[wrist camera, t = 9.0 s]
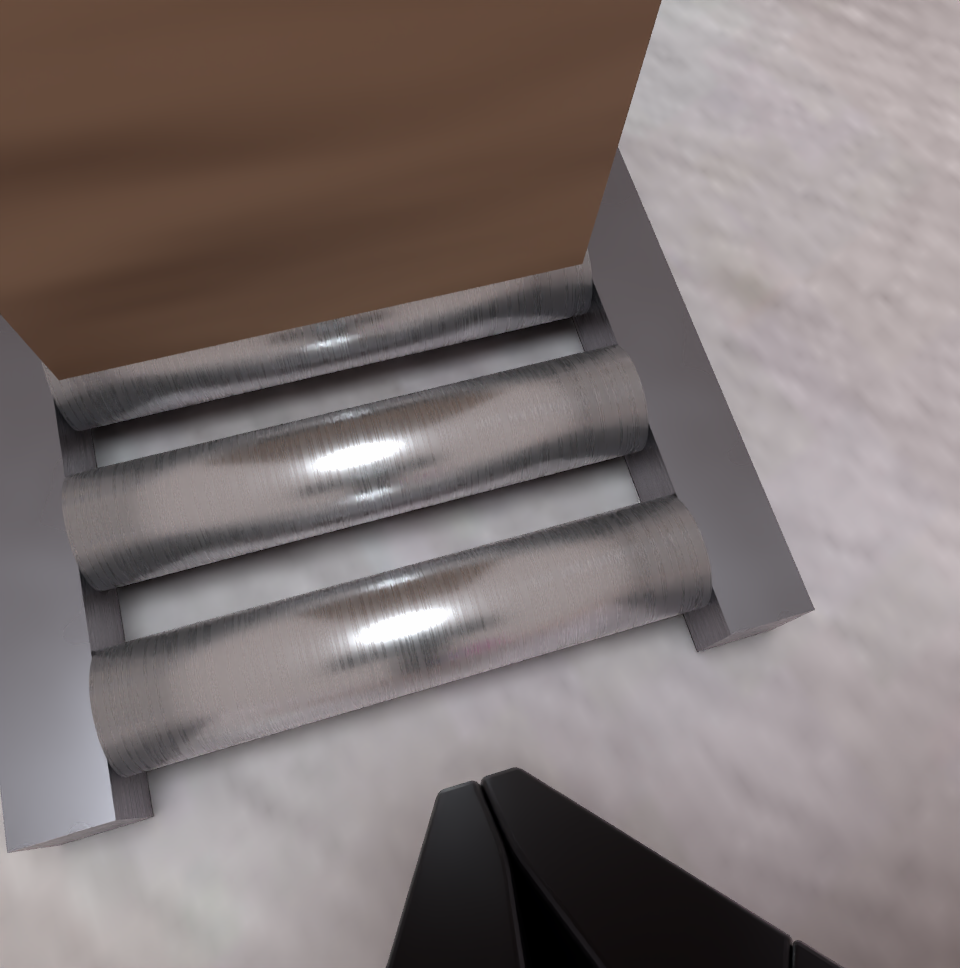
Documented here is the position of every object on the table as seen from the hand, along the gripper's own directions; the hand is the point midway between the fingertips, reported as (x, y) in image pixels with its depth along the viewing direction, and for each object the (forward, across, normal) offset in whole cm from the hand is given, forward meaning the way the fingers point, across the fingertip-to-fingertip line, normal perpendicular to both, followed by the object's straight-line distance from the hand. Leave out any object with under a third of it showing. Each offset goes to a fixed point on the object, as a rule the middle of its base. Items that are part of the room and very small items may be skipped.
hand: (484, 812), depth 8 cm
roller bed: (+11, 0, +3) cm, 12 cm away
